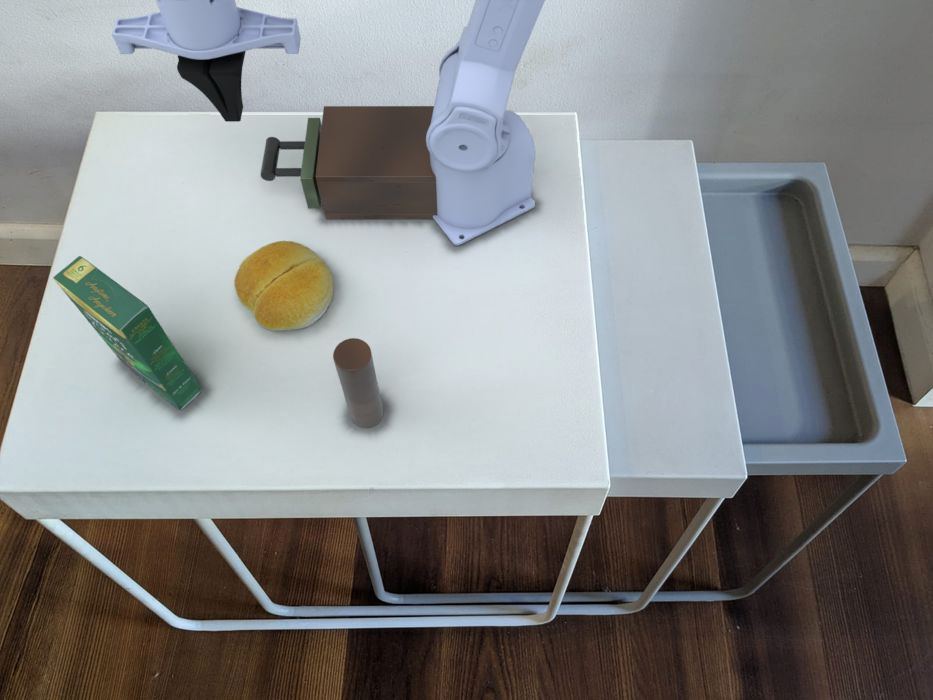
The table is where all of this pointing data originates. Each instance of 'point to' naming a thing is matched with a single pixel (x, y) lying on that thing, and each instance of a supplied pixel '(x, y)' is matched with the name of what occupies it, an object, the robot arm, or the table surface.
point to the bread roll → (284, 285)
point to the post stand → (359, 382)
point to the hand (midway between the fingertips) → (234, 113)
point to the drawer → (308, 163)
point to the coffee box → (129, 331)
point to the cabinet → (376, 163)
